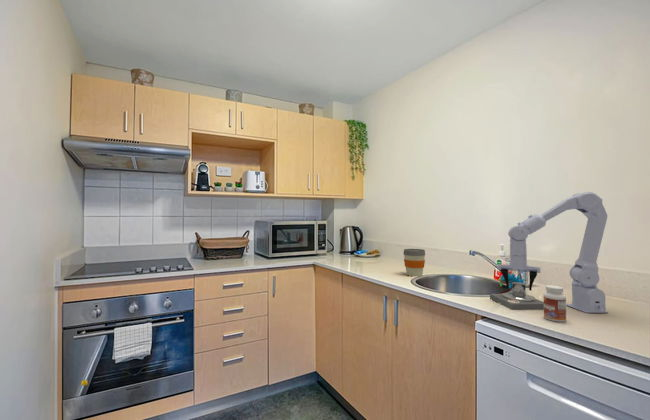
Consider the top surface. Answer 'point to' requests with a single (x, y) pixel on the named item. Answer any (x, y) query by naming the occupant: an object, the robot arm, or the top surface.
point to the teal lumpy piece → (510, 280)
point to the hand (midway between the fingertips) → (518, 288)
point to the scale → (517, 301)
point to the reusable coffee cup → (414, 261)
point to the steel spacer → (518, 289)
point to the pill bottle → (554, 304)
